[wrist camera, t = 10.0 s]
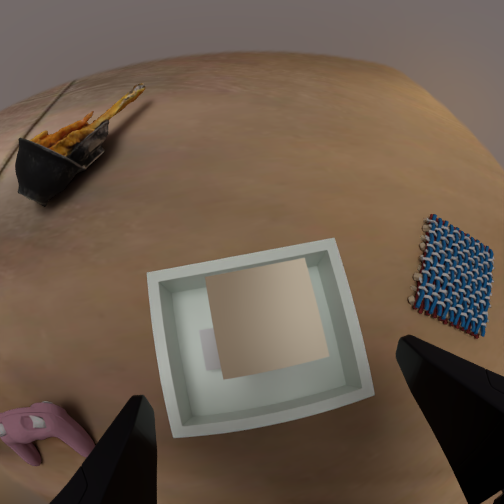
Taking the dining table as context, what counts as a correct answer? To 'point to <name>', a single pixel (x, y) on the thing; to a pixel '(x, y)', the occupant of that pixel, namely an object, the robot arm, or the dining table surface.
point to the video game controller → (41, 430)
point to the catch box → (262, 384)
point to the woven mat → (453, 277)
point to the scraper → (262, 320)
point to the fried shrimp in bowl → (63, 153)
